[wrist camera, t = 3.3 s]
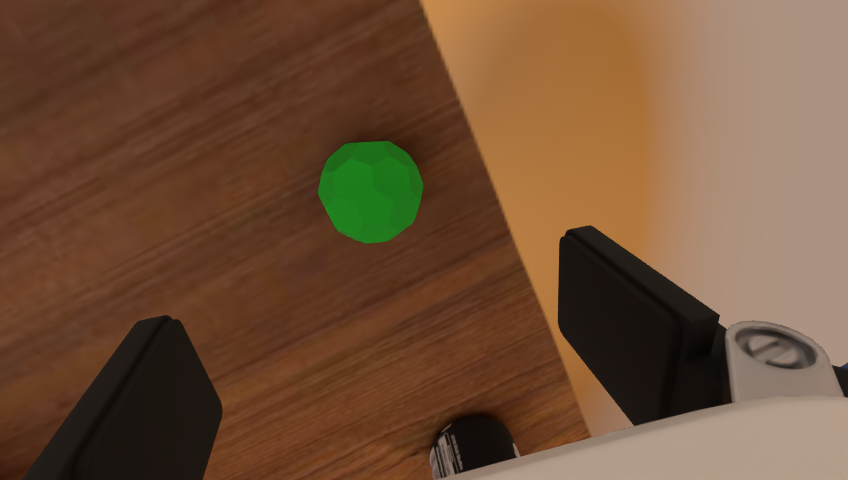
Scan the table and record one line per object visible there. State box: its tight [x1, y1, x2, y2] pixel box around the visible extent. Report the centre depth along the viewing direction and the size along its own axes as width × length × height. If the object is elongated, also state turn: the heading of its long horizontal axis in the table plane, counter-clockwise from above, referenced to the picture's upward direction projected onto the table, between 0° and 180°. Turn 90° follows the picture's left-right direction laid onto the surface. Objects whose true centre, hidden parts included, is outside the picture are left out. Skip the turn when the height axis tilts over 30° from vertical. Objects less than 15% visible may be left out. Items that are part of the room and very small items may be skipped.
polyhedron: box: [318, 141, 424, 243], centre depth 20 cm, size 5×5×5 cm
